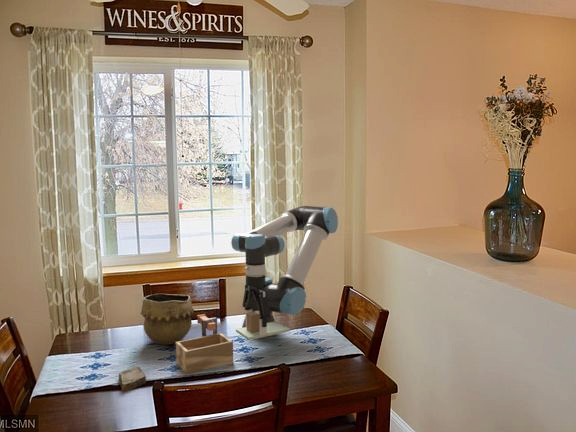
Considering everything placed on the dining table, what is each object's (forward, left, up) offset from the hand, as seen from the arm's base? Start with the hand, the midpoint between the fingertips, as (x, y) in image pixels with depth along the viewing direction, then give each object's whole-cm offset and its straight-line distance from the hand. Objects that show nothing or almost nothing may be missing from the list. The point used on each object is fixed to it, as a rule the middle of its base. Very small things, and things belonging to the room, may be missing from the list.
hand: (256, 330), depth 191 cm
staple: (-11, -15, -9) cm, 20 cm away
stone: (0, -48, -9) cm, 48 cm away
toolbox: (-1, -21, -9) cm, 23 cm away
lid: (0, +3, -1) cm, 3 cm away
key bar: (-13, -15, 0) cm, 20 cm away
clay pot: (-28, -26, -9) cm, 39 cm away
